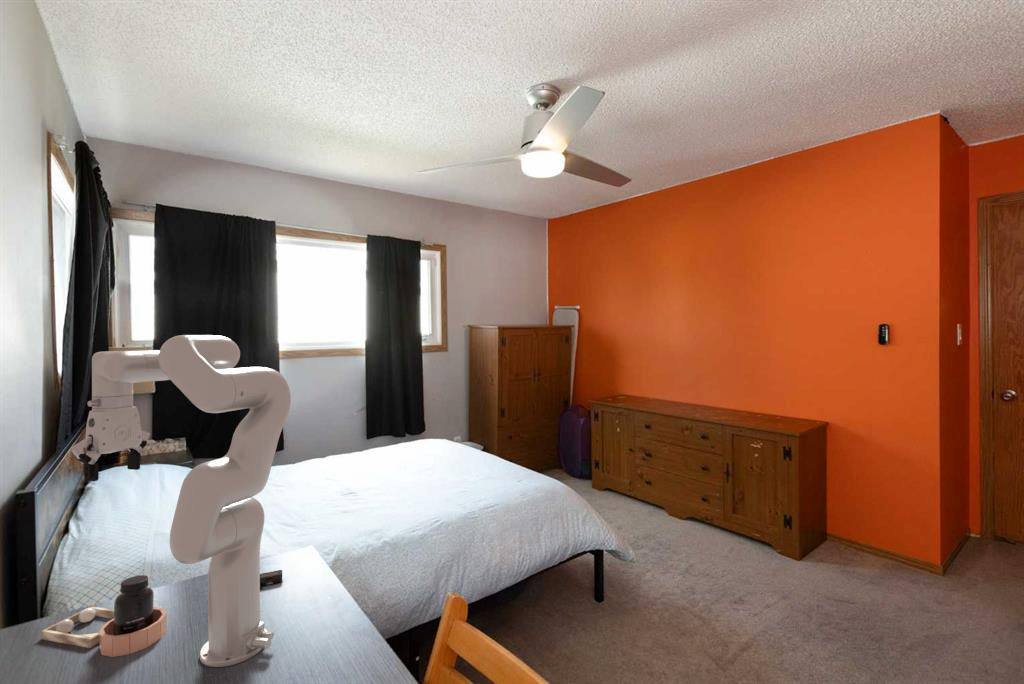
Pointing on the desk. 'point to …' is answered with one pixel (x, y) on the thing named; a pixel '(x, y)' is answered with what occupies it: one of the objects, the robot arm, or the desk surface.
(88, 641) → the tray
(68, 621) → the pebble
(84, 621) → the pebble
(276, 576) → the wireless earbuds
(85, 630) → the desk surface
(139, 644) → the bowl
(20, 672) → the desk surface
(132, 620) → the supplement bottle
